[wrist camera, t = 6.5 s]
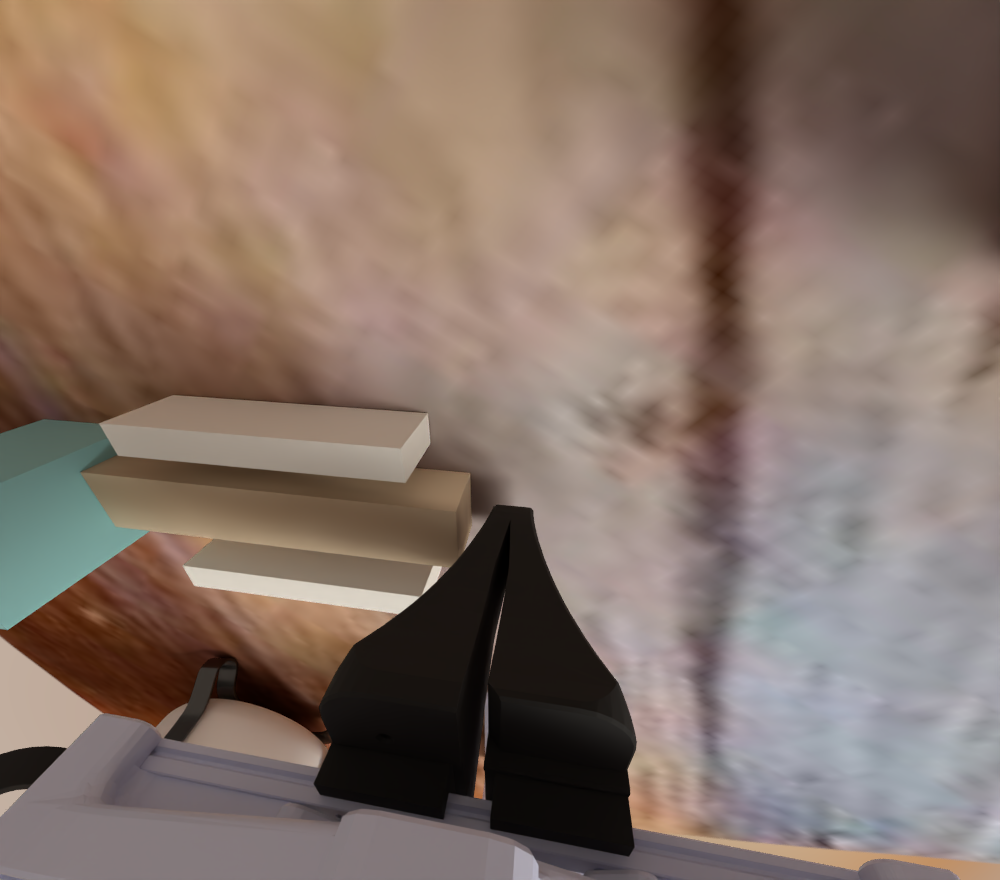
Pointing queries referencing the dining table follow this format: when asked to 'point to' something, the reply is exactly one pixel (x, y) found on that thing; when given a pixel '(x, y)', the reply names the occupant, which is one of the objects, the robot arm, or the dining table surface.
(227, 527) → the rod
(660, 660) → the dining table surface
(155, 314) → the dining table surface
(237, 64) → the dining table surface
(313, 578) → the channel
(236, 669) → the coffee press
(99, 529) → the block
